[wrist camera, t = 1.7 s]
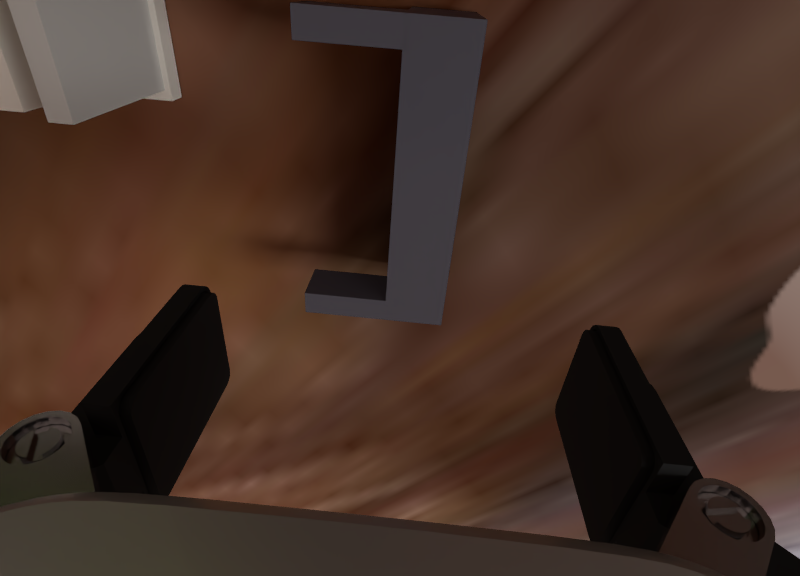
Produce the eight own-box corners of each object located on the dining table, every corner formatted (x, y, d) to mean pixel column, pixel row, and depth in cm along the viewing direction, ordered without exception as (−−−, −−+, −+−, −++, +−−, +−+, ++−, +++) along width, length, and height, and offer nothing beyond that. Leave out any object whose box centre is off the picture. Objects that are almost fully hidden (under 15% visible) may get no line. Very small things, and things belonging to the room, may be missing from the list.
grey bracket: (475, 11, 22) (487, 19, 17) (440, 267, 29) (440, 325, 24) (324, -2, 22) (290, 2, 17) (328, 256, 29) (305, 311, 24)
